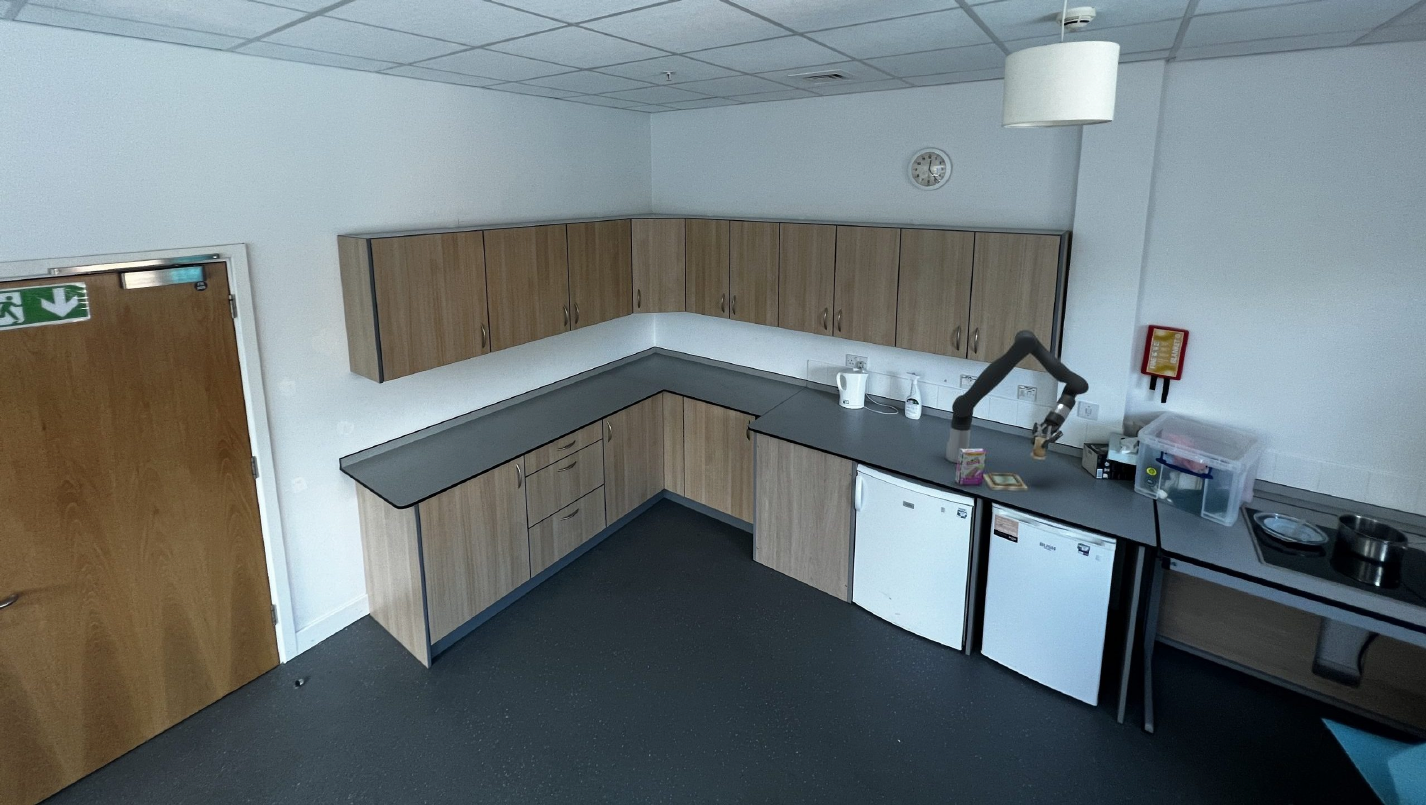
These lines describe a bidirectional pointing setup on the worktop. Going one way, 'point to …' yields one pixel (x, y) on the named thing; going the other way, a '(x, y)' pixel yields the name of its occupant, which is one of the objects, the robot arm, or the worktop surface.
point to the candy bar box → (970, 466)
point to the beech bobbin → (1038, 449)
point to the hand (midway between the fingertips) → (1037, 445)
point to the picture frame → (1004, 481)
